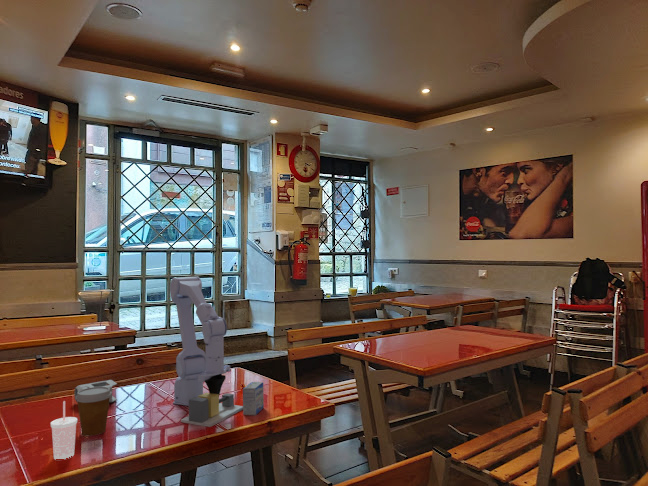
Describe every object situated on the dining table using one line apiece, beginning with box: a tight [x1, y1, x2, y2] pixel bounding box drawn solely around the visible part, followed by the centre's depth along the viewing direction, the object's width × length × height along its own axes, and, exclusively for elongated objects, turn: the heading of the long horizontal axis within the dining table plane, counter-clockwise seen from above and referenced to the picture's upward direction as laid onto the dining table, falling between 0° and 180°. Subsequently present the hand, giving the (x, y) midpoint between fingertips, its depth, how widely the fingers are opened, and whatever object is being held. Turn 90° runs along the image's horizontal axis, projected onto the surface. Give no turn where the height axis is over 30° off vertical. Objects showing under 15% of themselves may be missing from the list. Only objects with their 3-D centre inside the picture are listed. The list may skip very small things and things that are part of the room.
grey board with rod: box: [180, 393, 243, 428], centre depth 151 cm, size 11×18×7 cm, turn 156°
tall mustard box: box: [198, 392, 220, 417], centre depth 149 cm, size 5×4×6 cm
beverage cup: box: [50, 400, 78, 460], centre depth 122 cm, size 6×6×14 cm
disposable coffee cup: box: [75, 387, 113, 437], centre depth 138 cm, size 10×10×12 cm
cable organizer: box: [73, 379, 118, 404], centre depth 165 cm, size 7×12×12 cm
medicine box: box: [242, 381, 265, 416], centre depth 155 cm, size 8×4×9 cm, turn 168°
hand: (214, 398), depth 152 cm, fingers closed
